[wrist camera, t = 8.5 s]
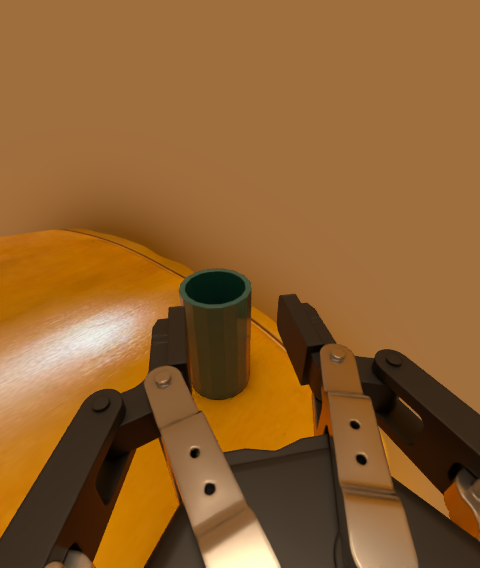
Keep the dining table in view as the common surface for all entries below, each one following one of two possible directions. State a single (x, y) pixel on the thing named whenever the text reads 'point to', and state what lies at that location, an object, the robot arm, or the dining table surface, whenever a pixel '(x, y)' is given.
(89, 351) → the dining table surface
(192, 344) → the cup
